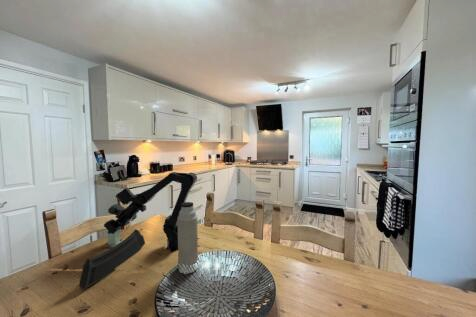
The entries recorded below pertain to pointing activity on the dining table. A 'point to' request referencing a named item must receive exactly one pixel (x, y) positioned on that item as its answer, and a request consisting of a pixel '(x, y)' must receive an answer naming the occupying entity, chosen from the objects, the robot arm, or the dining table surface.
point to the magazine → (110, 259)
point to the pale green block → (113, 238)
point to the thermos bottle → (187, 235)
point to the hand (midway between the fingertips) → (110, 231)
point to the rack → (109, 245)
